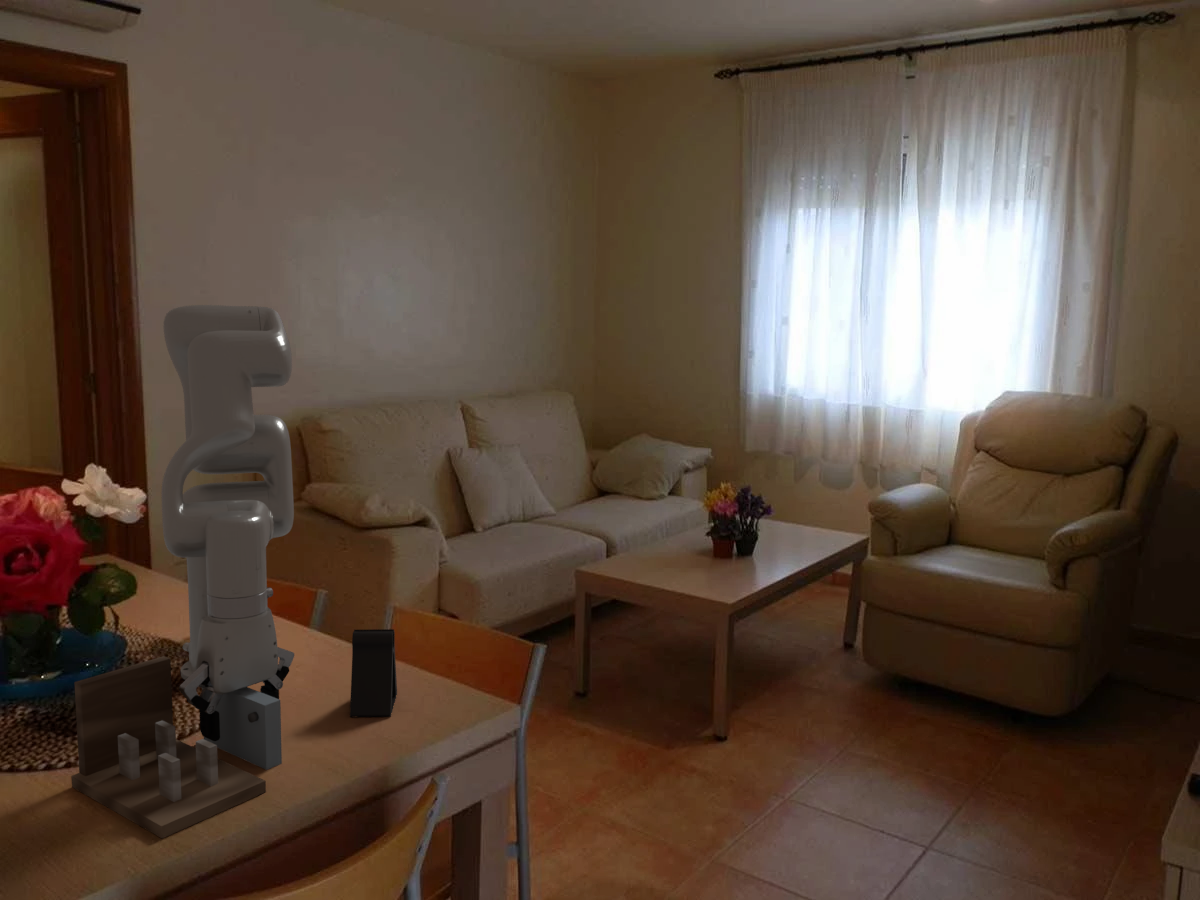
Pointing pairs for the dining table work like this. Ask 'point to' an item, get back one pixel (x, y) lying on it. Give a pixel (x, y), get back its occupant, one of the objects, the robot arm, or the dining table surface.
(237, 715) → the blue-grey rectangular block
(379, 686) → the phone stand
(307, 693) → the dining table surface
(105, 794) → the wooden peg rack
